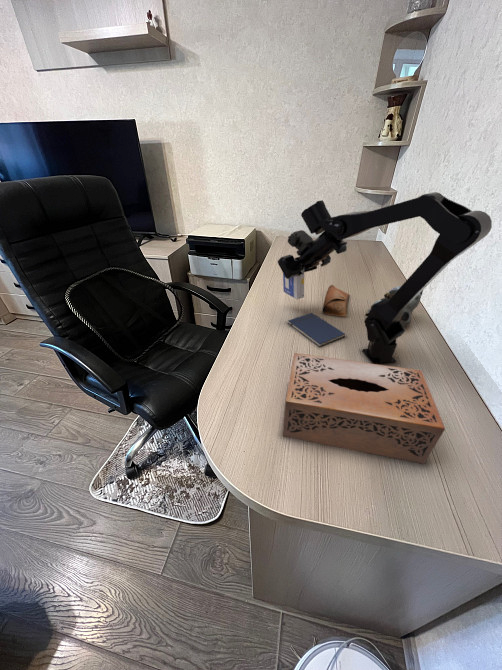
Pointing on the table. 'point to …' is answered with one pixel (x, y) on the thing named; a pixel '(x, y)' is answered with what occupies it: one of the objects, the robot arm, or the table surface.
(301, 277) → the walkman
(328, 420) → the tissue box cover
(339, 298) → the sunglasses case
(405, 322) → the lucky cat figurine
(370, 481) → the table surface
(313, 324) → the notebook
